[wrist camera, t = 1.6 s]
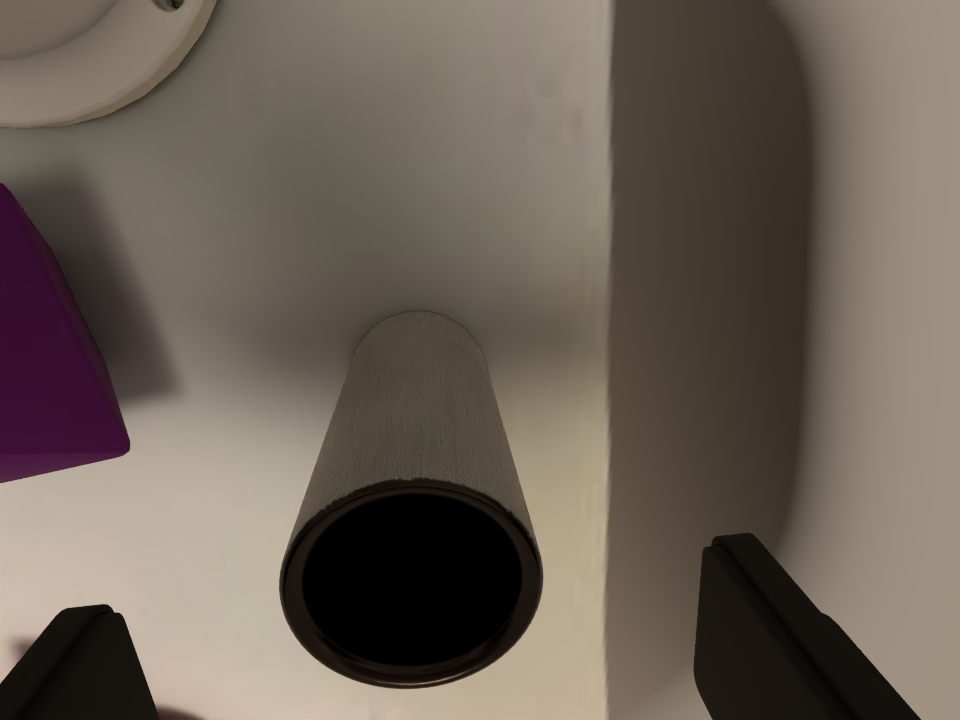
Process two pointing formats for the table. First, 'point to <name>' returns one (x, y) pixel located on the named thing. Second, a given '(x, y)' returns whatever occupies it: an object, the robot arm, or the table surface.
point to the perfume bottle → (47, 363)
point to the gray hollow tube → (413, 518)
